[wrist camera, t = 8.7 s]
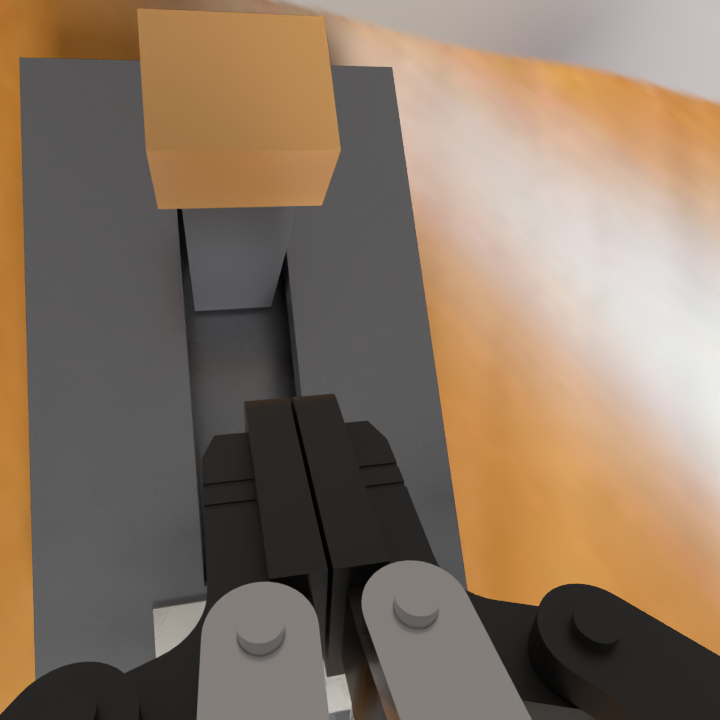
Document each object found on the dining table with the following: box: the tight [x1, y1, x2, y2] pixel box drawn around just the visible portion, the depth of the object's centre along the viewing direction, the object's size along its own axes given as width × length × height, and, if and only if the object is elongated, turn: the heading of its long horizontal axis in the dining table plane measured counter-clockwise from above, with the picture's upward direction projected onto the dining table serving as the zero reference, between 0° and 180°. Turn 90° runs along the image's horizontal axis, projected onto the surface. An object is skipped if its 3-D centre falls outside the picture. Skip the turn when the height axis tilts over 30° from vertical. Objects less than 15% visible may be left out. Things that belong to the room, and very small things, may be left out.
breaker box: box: [19, 57, 467, 720], centre depth 26 cm, size 24×14×6 cm, turn 6°
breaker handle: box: [137, 8, 341, 311], centre depth 22 cm, size 4×4×14 cm
